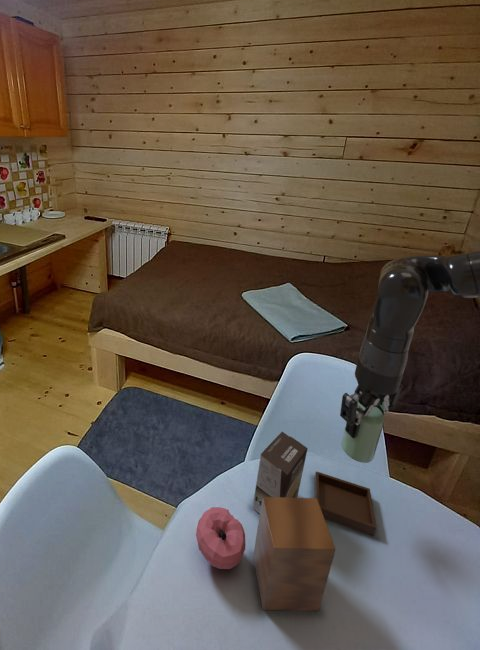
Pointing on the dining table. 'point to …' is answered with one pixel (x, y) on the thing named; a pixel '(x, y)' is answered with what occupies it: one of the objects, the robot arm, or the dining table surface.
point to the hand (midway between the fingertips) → (362, 429)
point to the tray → (345, 503)
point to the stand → (292, 554)
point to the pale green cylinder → (364, 437)
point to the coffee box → (280, 469)
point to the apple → (220, 538)
